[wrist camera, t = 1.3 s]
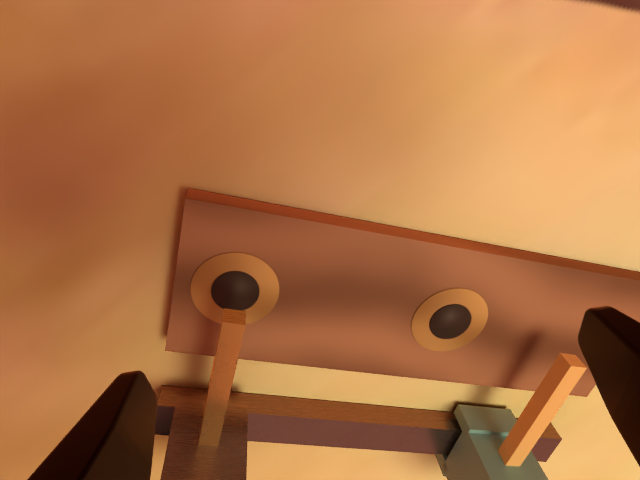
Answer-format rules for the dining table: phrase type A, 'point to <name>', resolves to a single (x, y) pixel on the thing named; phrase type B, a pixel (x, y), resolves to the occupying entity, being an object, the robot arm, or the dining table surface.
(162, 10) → the dining table surface
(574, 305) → the hole board
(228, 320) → the gauge rail
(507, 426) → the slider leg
